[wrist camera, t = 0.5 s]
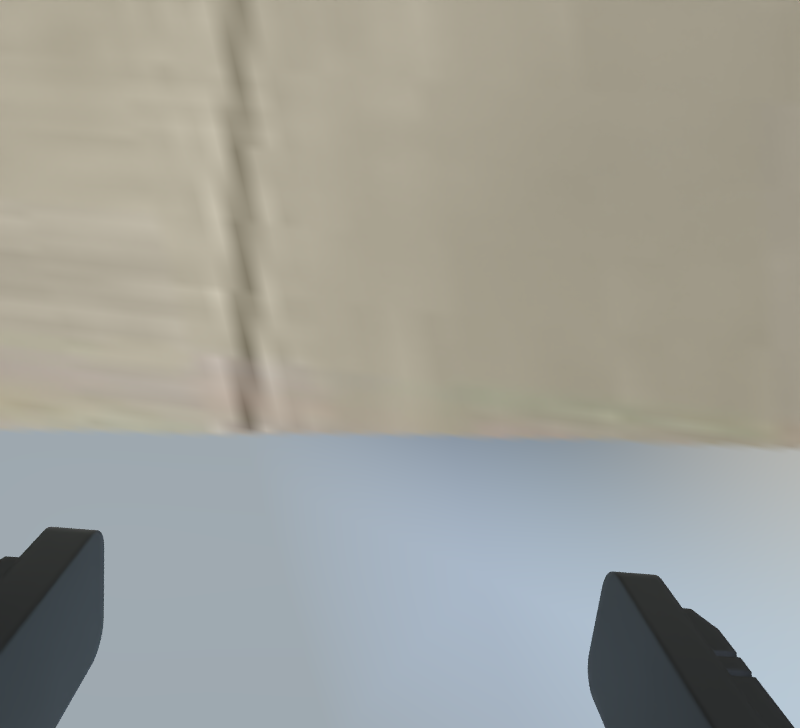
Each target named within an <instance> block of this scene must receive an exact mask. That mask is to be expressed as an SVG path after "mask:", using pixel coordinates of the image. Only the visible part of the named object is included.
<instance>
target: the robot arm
mask: <svg viewBox="0 0 800 728" xmlns="http://www.w3.org/2000/svg"><path fill="white" fill-rule="evenodd" d="M103 606H104V540H103V536H102V533H101V532H100V531H98V530H85V529H72V528H59V527H48V528H46V529H45V530H44V531H43V532H42V533H41V535H40V536H39V537H38V538H37V539H36V540H35V541H34V542H33V543H32V544H31V545H30V546H29V548H28V549H27V550H26V551H25V552H24V553H23V554H22V555H21V556H20V557H4V558H2V559H0V728H55V727H56V726H57V724H58V722H59V721H60V719H61V717H62V715H63V714H64V712H65V710H66V708H67V707H68V705H69V703H70V701H71V700H72V698H73V696H74V694H75V693H76V691H77V689H78V687H79V686H80V684H81V682H82V680H83V679H84V677H85V675H86V674H87V672H88V670H89V668H90V667H91V665H92V663H93V661H94V658H95V656H96V654H97V651H98V648H99V644H100V640H101V635H102V629H103V618H104V611H103V610H104V607H103ZM588 679H589V686H590V691H591V694H592V697H593V700H594V702H595V705H596V707H597V709H598V712H599V714H600V716H601V719H602V721H603V723H604V726H605V728H794V727H793V725H792V724H791V723H790V721H789V720H788V719H787V718H786V716H785V715H784V714H783V712H782V711H781V710H780V708H779V707H778V706H777V705H776V703H775V702H774V701H773V699H772V698H771V697H770V696H769V694H768V693H767V692H766V690H765V689H764V688H763V687H762V685H761V684H760V683H759V681H758V680H757V679H756V678H755V677H752V675H751V671H750V670H749V669H748V667H747V666H746V665H745V663H744V662H743V661H742V659H741V658H738V657H737V655H736V652H735V650H734V649H733V648H732V646H731V645H730V644H729V642H728V641H727V640H726V639H725V637H724V636H723V635H722V634H721V632H720V631H719V630H718V629H717V628H716V627H714V626H713V625H711V624H710V623H709V622H707V621H706V620H705V619H704V618H702V617H701V616H699V615H698V614H697V613H695V612H694V611H693V610H692V609H685V608H682V607H681V606H680V604H679V603H678V601H677V600H676V599H675V597H674V596H673V595H672V593H671V592H670V590H669V589H668V588H667V586H666V585H665V584H664V582H663V581H662V579H660V577H659V576H657V575H650V574H637V573H624V572H609V573H608V574H607V576H606V577H605V580H604V582H603V586H602V591H601V596H600V601H599V607H598V611H597V616H596V621H595V626H594V632H593V637H592V642H591V647H590V652H589V658H588Z"/></svg>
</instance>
